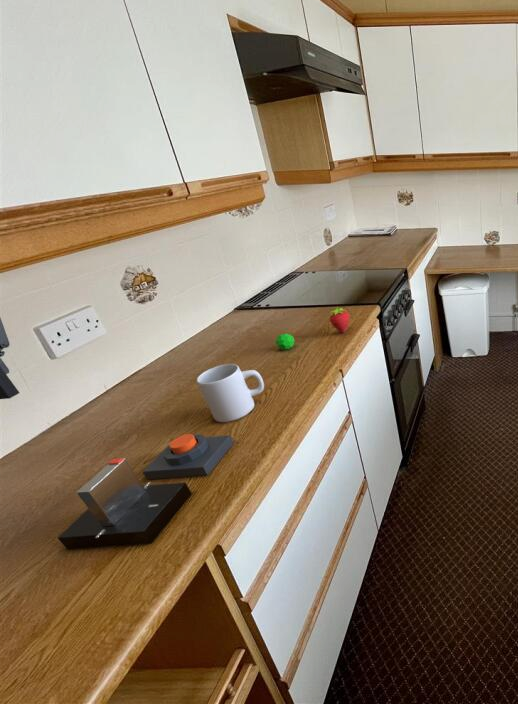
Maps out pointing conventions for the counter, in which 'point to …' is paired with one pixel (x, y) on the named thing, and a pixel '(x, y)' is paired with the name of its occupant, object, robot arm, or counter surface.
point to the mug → (228, 391)
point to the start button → (183, 444)
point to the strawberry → (339, 319)
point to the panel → (129, 520)
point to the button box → (189, 459)
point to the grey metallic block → (112, 492)
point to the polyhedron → (285, 341)
